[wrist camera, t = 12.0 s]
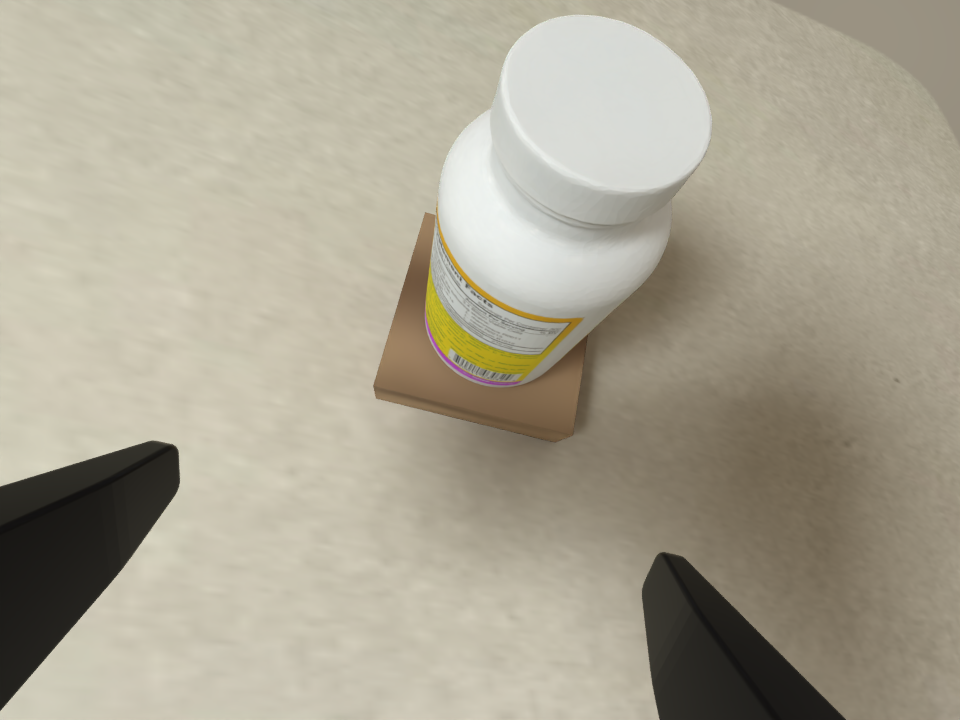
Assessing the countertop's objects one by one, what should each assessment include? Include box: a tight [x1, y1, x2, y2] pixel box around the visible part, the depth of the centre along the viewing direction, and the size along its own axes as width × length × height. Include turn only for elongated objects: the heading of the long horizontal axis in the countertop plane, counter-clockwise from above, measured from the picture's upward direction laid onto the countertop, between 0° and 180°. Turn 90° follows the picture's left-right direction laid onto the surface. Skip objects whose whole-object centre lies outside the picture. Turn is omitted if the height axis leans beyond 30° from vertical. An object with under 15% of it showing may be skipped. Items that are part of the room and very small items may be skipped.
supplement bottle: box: [425, 15, 712, 388], centre depth 16 cm, size 7×7×13 cm
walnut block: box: [373, 212, 588, 442], centre depth 23 cm, size 9×9×2 cm
